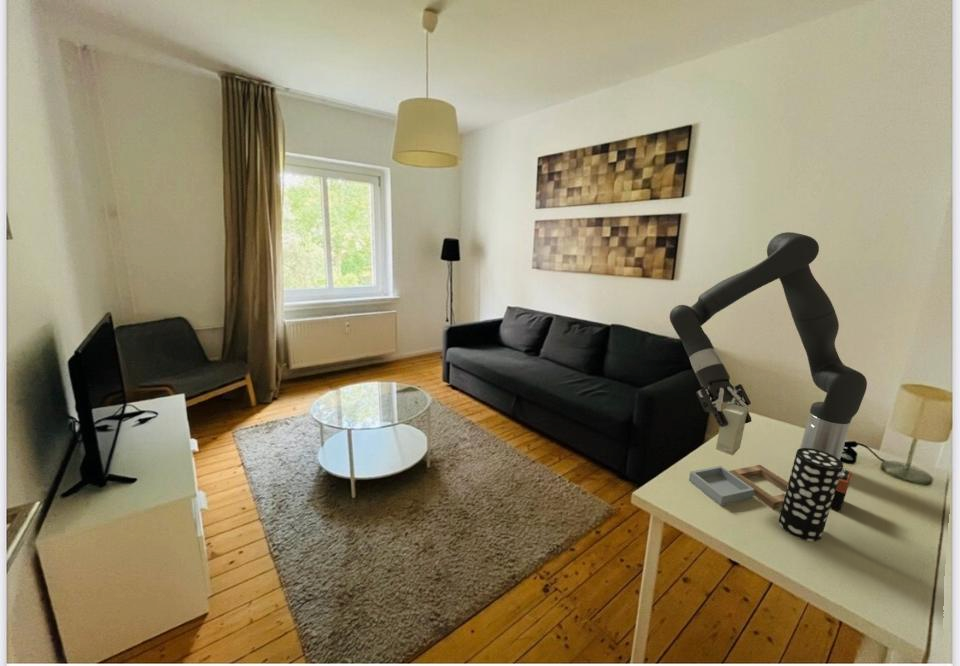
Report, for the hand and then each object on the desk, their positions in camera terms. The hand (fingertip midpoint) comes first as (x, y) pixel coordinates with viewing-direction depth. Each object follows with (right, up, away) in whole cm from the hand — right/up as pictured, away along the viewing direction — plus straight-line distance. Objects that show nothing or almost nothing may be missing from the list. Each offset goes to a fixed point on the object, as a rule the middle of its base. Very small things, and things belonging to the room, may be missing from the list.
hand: (736, 424), depth 103 cm
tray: (0, -20, +7) cm, 21 cm away
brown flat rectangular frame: (+13, -20, +7) cm, 25 cm away
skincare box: (0, -8, +3) cm, 8 cm away
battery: (+27, -22, +2) cm, 35 cm away
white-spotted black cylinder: (+11, -24, -7) cm, 28 cm away
